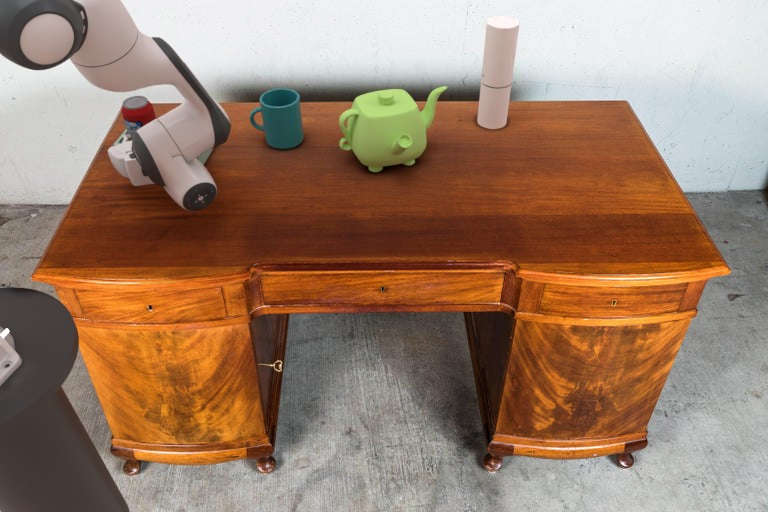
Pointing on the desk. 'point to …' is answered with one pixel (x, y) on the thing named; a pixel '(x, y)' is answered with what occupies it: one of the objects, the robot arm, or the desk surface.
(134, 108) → the beverage can
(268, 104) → the cup
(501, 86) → the cylindrical container
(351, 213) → the desk surface
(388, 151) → the teapot
